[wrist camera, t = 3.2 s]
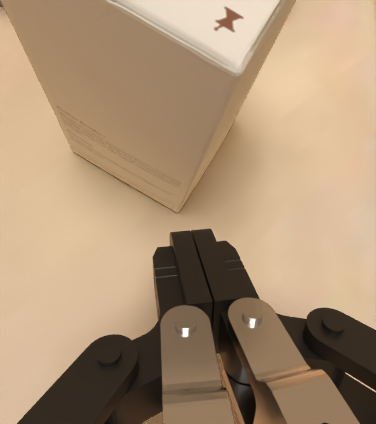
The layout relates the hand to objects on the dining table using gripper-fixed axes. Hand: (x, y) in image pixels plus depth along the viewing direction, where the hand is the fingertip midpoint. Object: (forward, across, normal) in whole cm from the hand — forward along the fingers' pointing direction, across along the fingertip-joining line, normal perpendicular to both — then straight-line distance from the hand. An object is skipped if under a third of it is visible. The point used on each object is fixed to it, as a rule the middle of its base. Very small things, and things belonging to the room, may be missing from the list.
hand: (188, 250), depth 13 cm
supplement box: (+10, 0, -1) cm, 10 cm away
